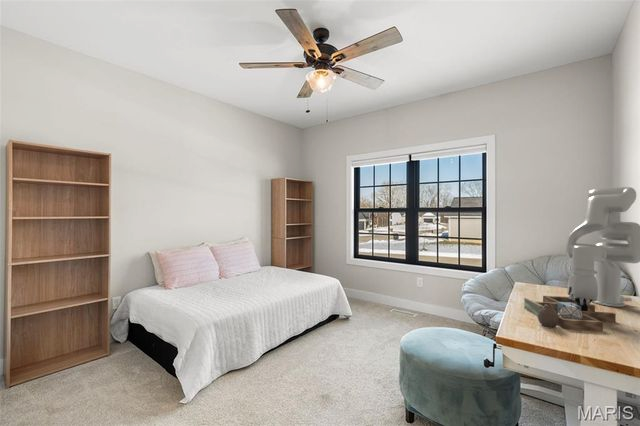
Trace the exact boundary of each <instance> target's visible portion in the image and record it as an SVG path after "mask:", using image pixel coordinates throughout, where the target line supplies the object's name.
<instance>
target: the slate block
mask: <svg viewBox="0 0 640 426" xmlns="http://www.w3.org/2000/svg"><path fill="white" fill-rule="evenodd" d="M563 304H564V305H565V306H567V305H571V302H558V309H557V311H556V312H557V313H558V314H560V309H561V308H563V307H564V306H563ZM572 305H573V306H575V307H577V308H578V307H580V308H579V310H580V311H581V306H579V305H576V304H574V303H572ZM559 308H560V309H559Z"/></svg>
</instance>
